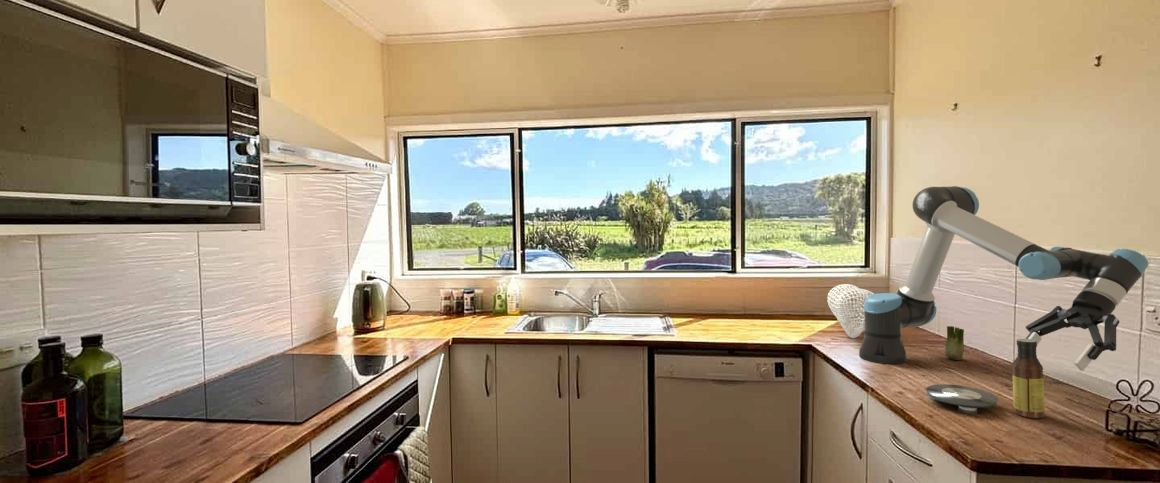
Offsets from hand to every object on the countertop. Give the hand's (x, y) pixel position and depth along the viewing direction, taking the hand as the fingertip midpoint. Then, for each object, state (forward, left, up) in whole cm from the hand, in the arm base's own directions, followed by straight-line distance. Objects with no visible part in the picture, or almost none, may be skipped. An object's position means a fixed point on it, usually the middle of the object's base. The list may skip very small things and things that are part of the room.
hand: (1049, 359), depth 135 cm
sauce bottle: (-1, -5, -15) cm, 16 cm away
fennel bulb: (-49, +20, -15) cm, 55 cm away
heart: (-86, +7, -15) cm, 88 cm away
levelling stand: (-11, -15, -15) cm, 24 cm away
